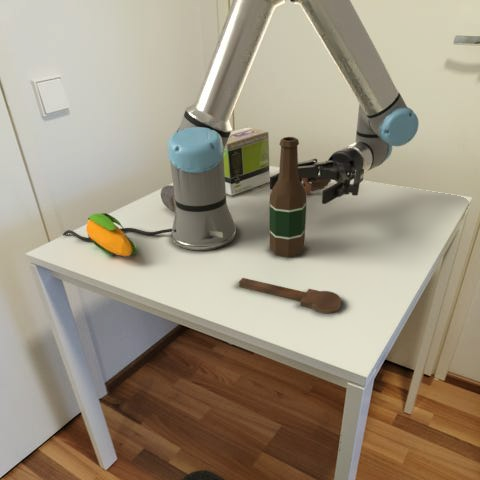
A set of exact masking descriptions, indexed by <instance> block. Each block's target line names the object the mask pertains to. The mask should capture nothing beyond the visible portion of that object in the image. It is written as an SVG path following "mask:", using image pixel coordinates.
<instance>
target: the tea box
mask: <svg viewBox="0 0 480 480" xmlns="http://www.w3.org/2000/svg"><path fill="white" fill-rule="evenodd" d="M269 142H270V141H269V132H268V131H265V130H262V129H261V130H260V129H257V128H256V129H255V128H252V127H248V126H244V127H240V128H237V129H232V131H231V133H230V136H229V138H228V141H227V143H226V146H225V148H224V155H223V157H224V173H225V188H226V195H227V196H231V197H232V196H235V195H237V194H238V195H239V194H240V193H241V194H242V193H243V192H246V191H249V190H251V189H252V190H253V189H254V188H257V187H260V186H262V185H265V184H268V183H270V177H271V174H270V173H271V172H270V143H269Z"/></svg>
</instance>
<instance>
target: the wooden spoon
mask: <svg viewBox="0 0 480 480" xmlns="http://www.w3.org/2000/svg"><path fill="white" fill-rule="evenodd" d="M238 284H239V287H240V288H243V289H248V290H252V291H257V292H261V293H264V294H269V295H273V296H276V297H282V298H286V299H290V300H294V301H299V302H300V307H304V308H308V309H312V310H313V311H315V312H317V313H321V314H332V313H336V312H337V311H338V310H340V308H341V303H342V299H341V297H340V295H338V294H337V293H336V292H333V291H330V290H317V289H312V288H308V289H307V291H303V290H302V291H301V290H298V289H293V288H289V287H284V286H280V285H276V284H271V283H267V282H262V281H258V280H254V279H249V278H247V277H242V278H241V279H240V280H239V282H238Z"/></svg>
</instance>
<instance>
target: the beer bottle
mask: <svg viewBox="0 0 480 480" xmlns="http://www.w3.org/2000/svg"><path fill="white" fill-rule="evenodd" d="M278 145H279V146H280V157H279V170H278V171H279V172H278V173H279V176H278V181H277V182H276V184H275V185H274V187H273V189H272V190H271V192H270V194H269V206H268V207H269V209H268V210H269V216H268V217H269V250H270V251H271V252H272V253H273V254H274V255H275V256H278V257H282V258H291V257H295V256H299V255H301V253H302V251H303V250H304V248H305V242H306V240H305V239H306V221H307V219H306V218H307V194H306V192H305V189H304V188H305V185H304V184H303V182H302V183H301V182H300V180H299V175H298V162H299V158H298V155H299V154H298V146H299V145H300V142H299V139H298V138H296V137H294V136H286V137H282V138H281V139H280V141H279V144H278Z"/></svg>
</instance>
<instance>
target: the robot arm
mask: <svg viewBox="0 0 480 480" xmlns="http://www.w3.org/2000/svg"><path fill="white" fill-rule="evenodd" d="M289 1H290V3H291V4H295V5H299V6H300V8H301V9H302V11H303V13H304V14H305V16H306V18H307V19H308V21H309V23H310V24H311V26H312V28H313V29H314V31H315V33H316V35H317V36H318V37H319V39H320V41H321V43H322V44H323V46H324V48H325V49H326V50H327V52H328V54H329V56H330V57H331V59H332V61H333V62H334V64H335V66H336V67H337V69H338V70H339V72H340V74H341V75H342V77H343V79H344V80H345V83H346V84H347V85H348V87H349V89H350V90H351V92H352V93H353V95H354V97H355V99H356V100H357V102H358V103H359V104H358V110H357V111H358V113H357V123H356V124H357V125H356V133H355V142H353V143H352V144H349V145H347V146H344V147H343V148H341V149H339V150H337V151H335V152H333V153H332V154H331V155H330V156H329V158H328V159H327V160H325V161H320V162H318V158H312V159H310V160H304V161H298V175H299V179H301V178H312V177H314V178H315V179H324V178H325V179H331V181H334V182H336V183H333V184H332V185H331V186H329V187H327V188H324V189H322V195H321V196H322V197H321V204H322V205H326V204H328V203H330V202H332V201H333V200H335V199H337V198H341V197H342V196H344V195H350V194H351V195H352V196H355V197H356V196H358V195H359V190H360V184H361V183H362V182H364V175H365V173H367V172H369V171H370V170H373V169H375V168H377V167H379V166H380V165H383V163H384V162H386V161H387V160H388V159H389V158H390V156H391V155H392V152H393V147H402V146H405V145H407V144H409V143H410V142H411V141H413V139H414V138H415V136H416V135H417V132H418V130H419V126H420V125H419V118H418V115H417V114H416V113H415V112H414V110H413V109H412V108H411V107H408V106H407V104H406V102H405V100H404V99H403V97H402V95H401V92H400V91H399V89H398V87H397V86H396V84H395V82H394V80H393V78H392V76H391V74H390V73H389V70H388V69H387V67H386V64H385V63H384V61H383V59H382V57H381V56H380V53H379V52H378V50H377V48H376V46H375V44H374V42H373V41H372V39H371V36H370V35H369V33H368V31H367V29H366V27H365V26H364V24H363V22H362V20H361V18H360V16H359V15H358V12H357V11H356V9H355V7H354V5H353V3H352V2H351V0H289ZM286 2H287V0H231V4H230V7H229V9H228V12H227V15H226V17H225V21H224V24H223V26H222V29H221V31H220V34H219V37H218V39H217V42H216V44H215V47H214V50H213V53H212V56H211V59H210V62H209V64H208V66H207V70H206V72H205V75H204V78H203V81H202V83H201V87H200V89H199V92H198V93H197V98H196V100H195V102H194V103H193V104H191V105H188V106H187V107H186V108H185V111H184V114H183V117H182V119H181V122H180V124H179V126H178V129H177V130H176V132H174V133H173V134H172V135H171V136H170V138H169V139H168V143H167V146H168V148H167V156H168V159H169V163H170V171H171V178H172V186H174V194H175V201H176V212H175V213H174V217H173V223H172V228H167V229H161V230H160V229H159V230H156V231H144V230H141V229H138V228H134V227H123V228H124V229H123V228H122V227H121V228H120V229H121V230H122V232H133V233H138V234H141V235H146V236H155V235H156V236H157V235H160V234H166V233H171V236H172V241H173V243H174V244H175V245H176V246H178V247H180V248H182V249H185V250H190V251H209V250H214V249H219V248H222V247H225V246H226V245H228V244H230V243H231V242H233V241H234V240H235V238H236V237H237V228H236V224H235V221H234V219H233V216H232V214H231V211H230V209H229V206H228V203H227V194H226V188H225V173H224V157H223V155H224V148H225V146H226V143H227V141H228V138H229V136H230V133H231V131H233V128H232V125H231V122H230V119H231V117H232V113H233V112H234V109H235V107H236V104H237V101H238V99H239V97H240V95H241V92H242V90H243V88H244V85H245V82H246V80H247V77H248V75H249V72H250V70H251V67H252V66H253V63H254V60H255V58H256V56H257V54H258V50H259V48H260V46H261V43H262V41H263V38H264V36H265V33H266V32H267V29H268V26H269V25H270V22H271V19H272V16H273V14H274V12H275V9H276V8H277V7H279V6H281V5H284V4H285V3H286ZM318 169H320V171H319V173H318ZM278 176H279V172H278V173H275V174H274V175H271V176H270V182H269V190H271V191H272V189H273V187H274V185H275V184H276V182H277V181H278ZM351 181H353V182H352V183H351ZM68 234H71V235H73V236H74V237H76V238H77V239H79V240H82V241H86V242H90V241H91V240H90V239H89V237H86V236H82V235H80V234H79V233H76V232H75V231H74V230H71V229H67V230H65V231H64V232H63V233H62V236H67V235H68ZM91 242H92V241H91Z"/></svg>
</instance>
